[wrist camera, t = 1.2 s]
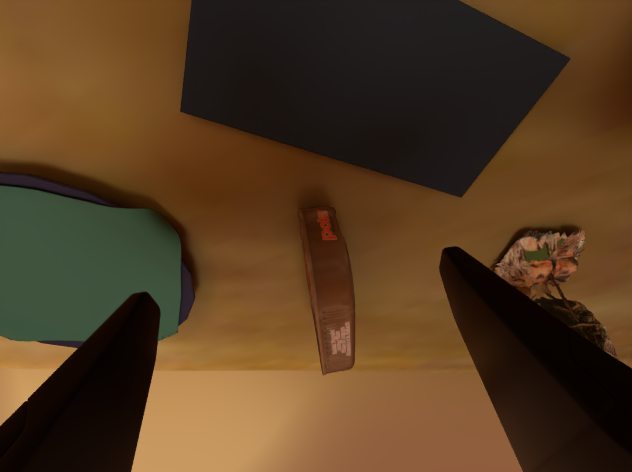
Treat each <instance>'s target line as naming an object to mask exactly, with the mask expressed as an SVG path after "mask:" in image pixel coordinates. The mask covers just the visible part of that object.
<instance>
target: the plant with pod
mask: <svg viewBox="0 0 632 472" xmlns="http://www.w3.org/2000/svg"><path fill="white" fill-rule="evenodd" d="M537 232H538V231H535V232H532V231H529V232H527V233H525V234H524V235H522V236H521V237H520V238H518V240H517V241H516V242H515V243H514V244H513V245H512V246H511V247H510V248H509V250H508V252H507V254H506V255H505V256H504V258H503V260H501V261H502V263H499V264H496V265H499V266H502V267H495V271H494V272H496V274H497V275H499V276H500V277H501V278H503V279H504V280H505V281H507V282H508V283H510V284H511V285H512V286H514V287H515V288H516V287H526V286H527V287H529V289H530V298H531V299H532V300H533V301H535V302H536V303H538V304H539V305H540V306H542V307H543V308H544V309H546V310H547V311H549V312H550V313H551V314H553V315H554V316H556V317H557V318H558V319H560V320H561V321H563V322H564V323H565V324H567V325H568V328H569V327H571V328H572V329H574V330H575V331H577V332H578V333H579V334H581V335H582V336H584V337H585V338H586V339H588V340H589V341H591V342H592V343H594V344H595V345H597V346H598V347H600V348H601V349H602V350H604V351H605V352H607V353H608V354H610V355H611V356H613V357H615V358H616V359H618V358H617V355H616V353H615V349H614V346H613V344H612V342H611V340H610V337H609V336H608V334H607V332H606V328H605V327H604V326H603V325H602V324H601V323H600V322H599V321H598V320H596V319H595V316H594V314H593V313H592V312H590V311H588V310H587V309H586V307H585V306H584V305H583V304H581V303H579V302H577V301H571V300H567V299H566V298H565V297H564V295H563V293H562V291H561V289H560V287H559V286H558V285H559V284H561V283H563V282H566V281H567V280H568V279H569V278H570V277H571V276H572V274H574V273H575V271H576V270H577V267H578V262H577V260H576V259H578V258H576V257H578V256H580V255H578V254H579V253H580V252H582V251H583V250H584V249H585V248H584V247H582V246H581V245H582V244H583V243H585V242H584V241H581V240H583V239H585V237H584V234H585V233H586V232H585V231H583V230H582V229H581V230H580V232H579V230H577V231H576V232H574V233H572V234H571V235H570V236H569V237H568V238H567V236H566V234H565V232H564V233H563V235H562V236H561V237H560V234H559V232H558V233H555V234H552V231H550V232H548V233H545V232H544V233H543V234H542V235H541V232H540V233H539V234H537ZM551 234H552V235H551ZM548 284H551V285H552V286H556V287H557V289H558V291H559V293H560V295H561V297H562V299H557V298H555V297H554V296H552V295H551V291H550V290H549V289H548V287H547V286H546V285H548ZM618 360H619V359H618Z"/></svg>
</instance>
